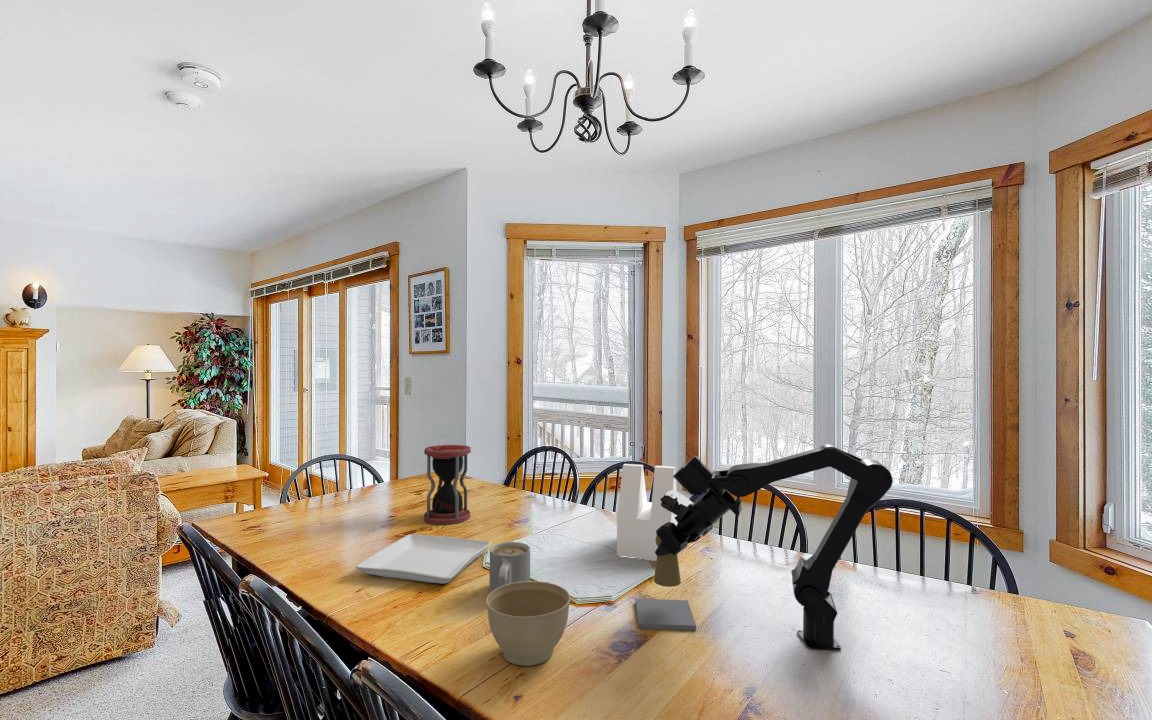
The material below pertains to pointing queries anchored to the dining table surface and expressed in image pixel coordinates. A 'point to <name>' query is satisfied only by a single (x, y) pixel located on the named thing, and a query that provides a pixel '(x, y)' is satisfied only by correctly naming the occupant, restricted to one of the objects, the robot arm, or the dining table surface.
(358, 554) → the dining table surface
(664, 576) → the cork
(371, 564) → the square plate
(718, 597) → the dining table surface
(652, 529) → the white slotted block
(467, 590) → the dining table surface
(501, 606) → the planter bowl
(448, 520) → the hourglass
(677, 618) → the charcoal mat
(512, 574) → the coffee mug
